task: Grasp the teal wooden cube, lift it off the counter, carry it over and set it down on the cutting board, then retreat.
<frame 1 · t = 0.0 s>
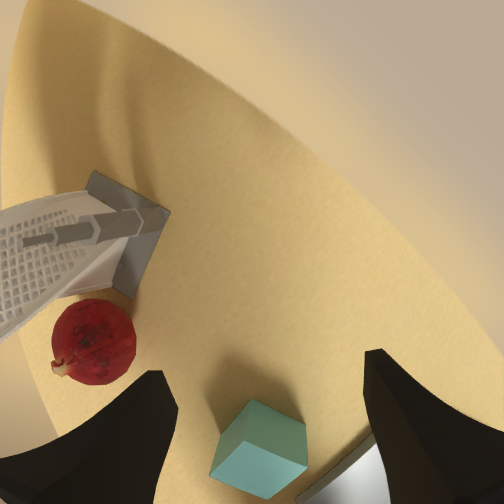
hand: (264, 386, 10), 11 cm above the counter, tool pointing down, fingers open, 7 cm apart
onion: (120, 322, 22), on the counter
cube: (262, 430, 23), on the counter
skyscraper: (105, 238, 22), on the counter
cutting board: (398, 474, 22), on the counter
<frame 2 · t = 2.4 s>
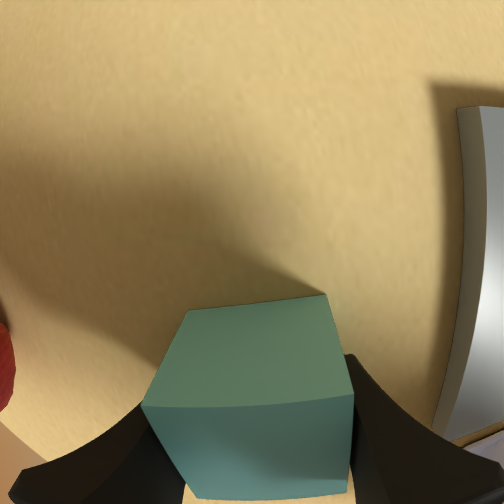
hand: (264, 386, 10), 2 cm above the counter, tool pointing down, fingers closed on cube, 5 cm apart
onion: (7, 326, 13), on the counter
cube: (265, 359, 12), on the counter, touching gripper
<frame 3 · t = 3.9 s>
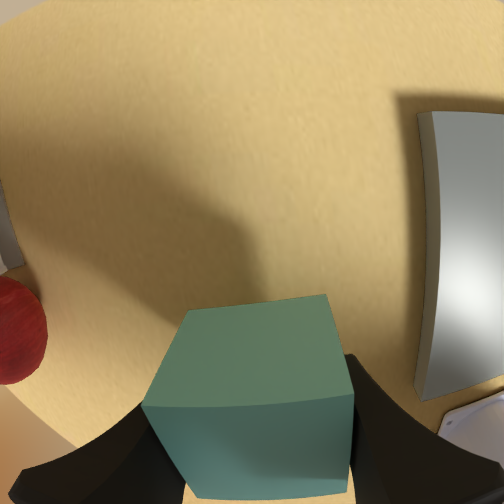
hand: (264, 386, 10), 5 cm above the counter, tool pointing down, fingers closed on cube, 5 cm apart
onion: (37, 300, 16), on the counter
cube: (265, 358, 12), point 3 cm above the counter, touching gripper
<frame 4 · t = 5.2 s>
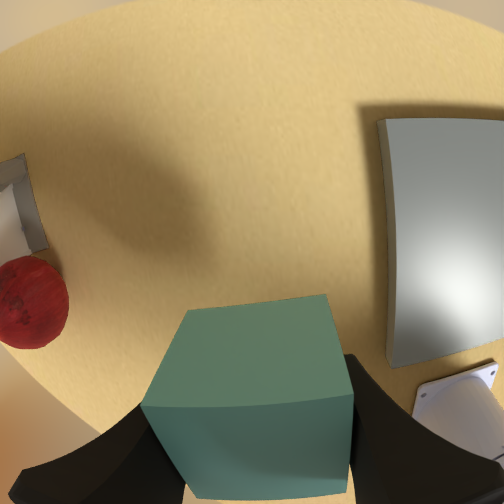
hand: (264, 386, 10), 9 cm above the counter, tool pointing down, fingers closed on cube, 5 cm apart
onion: (58, 279, 20), on the counter
cube: (265, 358, 12), point 7 cm above the counter, touching gripper
skyscraper: (10, 222, 19), on the counter
cutting board: (481, 238, 16), on the counter
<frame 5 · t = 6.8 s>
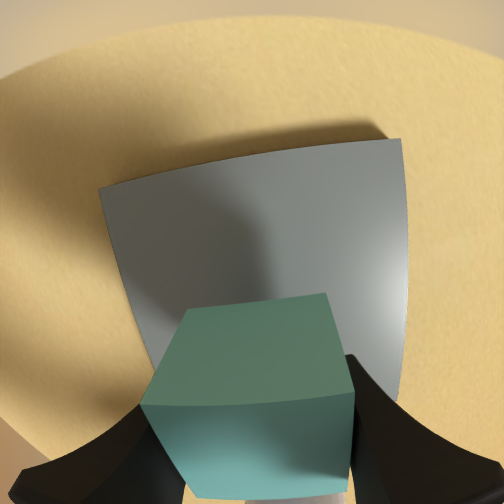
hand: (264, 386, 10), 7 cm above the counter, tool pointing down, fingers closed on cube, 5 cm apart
cube: (265, 357, 12), point 5 cm above the counter, touching gripper
cutting board: (269, 302, 17), on the counter
when the fingers open (4 cm above the counter, at t = 8.2 s): cube stays where it is, resting on cutting board.
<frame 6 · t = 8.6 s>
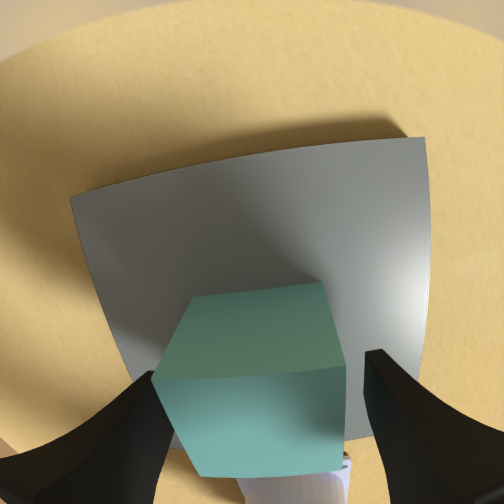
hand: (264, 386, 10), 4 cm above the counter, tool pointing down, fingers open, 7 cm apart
cube: (265, 343, 13), point 1 cm above the counter, touching cutting board
cutting board: (267, 326, 14), on the counter
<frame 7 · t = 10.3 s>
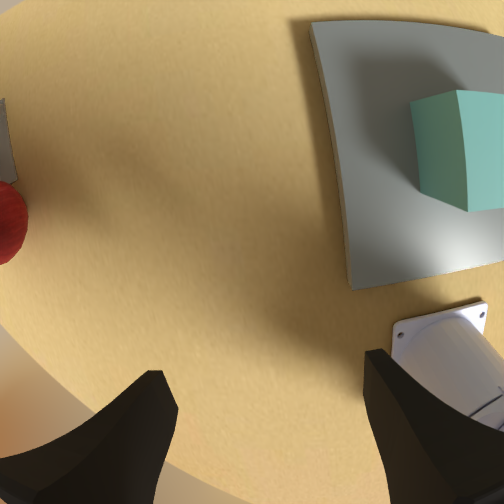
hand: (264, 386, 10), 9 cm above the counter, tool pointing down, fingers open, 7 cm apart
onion: (24, 210, 19), on the counter
cube: (453, 146, 14), point 1 cm above the counter, touching cutting board
cutting board: (441, 146, 16), on the counter
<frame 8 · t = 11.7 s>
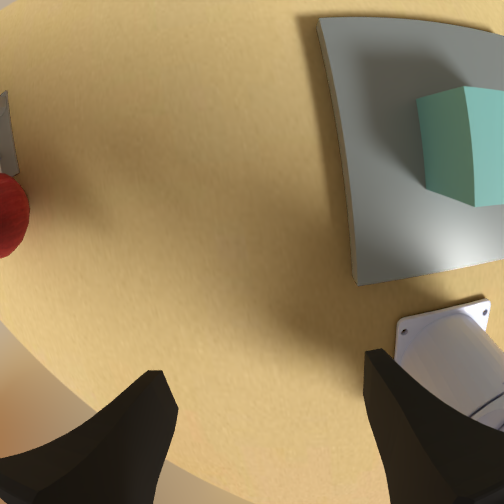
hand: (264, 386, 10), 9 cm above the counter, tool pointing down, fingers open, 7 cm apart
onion: (25, 204, 19), on the counter
cube: (458, 143, 14), point 1 cm above the counter, touching cutting board
cutting board: (446, 143, 16), on the counter
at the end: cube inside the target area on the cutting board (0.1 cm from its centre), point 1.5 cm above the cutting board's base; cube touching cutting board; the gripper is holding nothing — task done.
